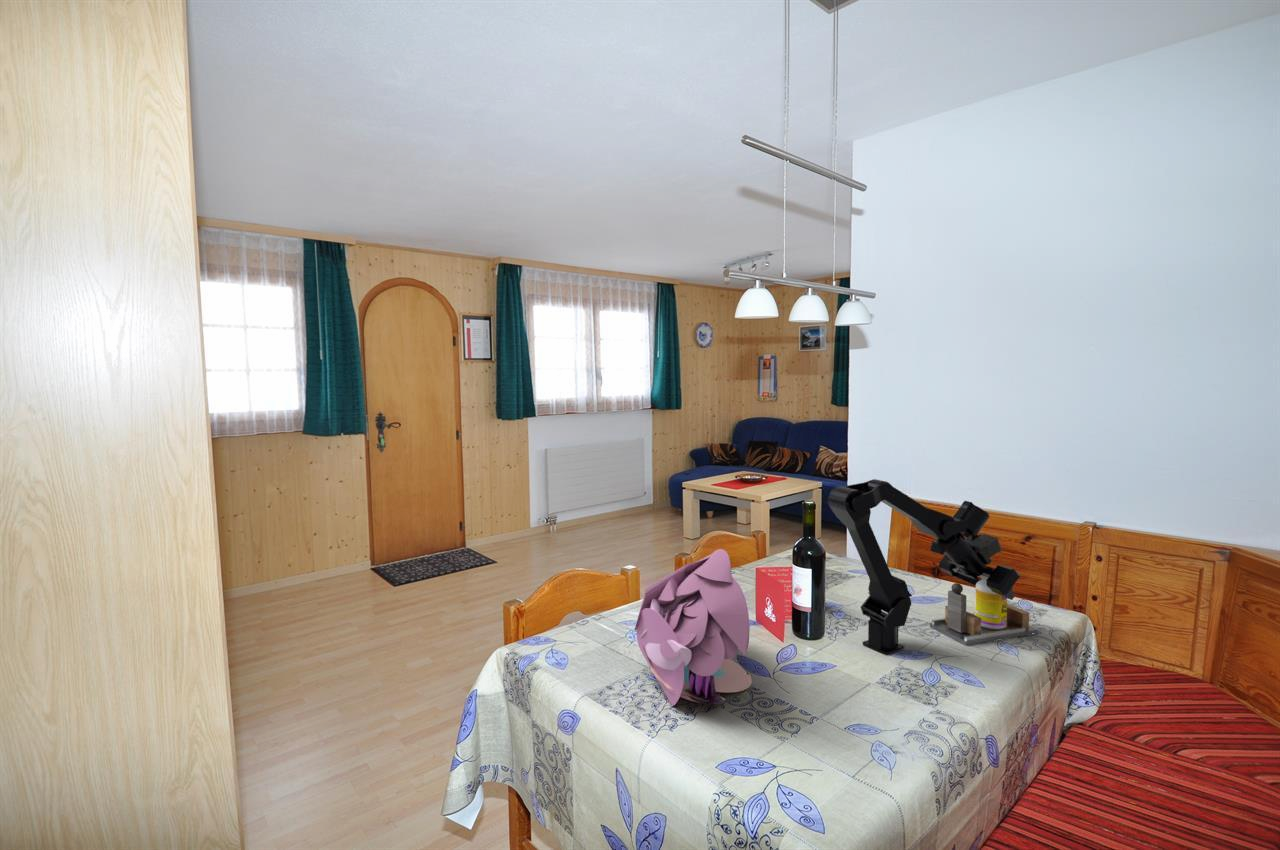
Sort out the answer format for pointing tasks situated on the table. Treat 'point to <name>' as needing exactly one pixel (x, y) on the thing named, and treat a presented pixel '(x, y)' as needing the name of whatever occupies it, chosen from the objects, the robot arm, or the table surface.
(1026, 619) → the bench clamp
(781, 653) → the table surface
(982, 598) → the supplement bottle
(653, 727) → the table surface
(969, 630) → the sliding jaw
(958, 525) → the robot arm
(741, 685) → the flower arrangement
